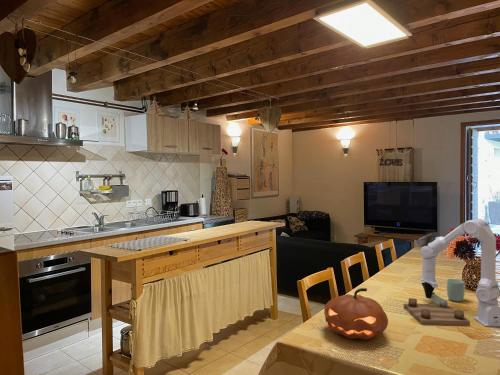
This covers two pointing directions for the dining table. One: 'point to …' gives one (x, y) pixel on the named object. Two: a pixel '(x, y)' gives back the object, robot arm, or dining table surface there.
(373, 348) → the dining table surface
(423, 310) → the stool seat
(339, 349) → the dining table surface
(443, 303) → the swing leg
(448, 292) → the cup
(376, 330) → the pumpkin
